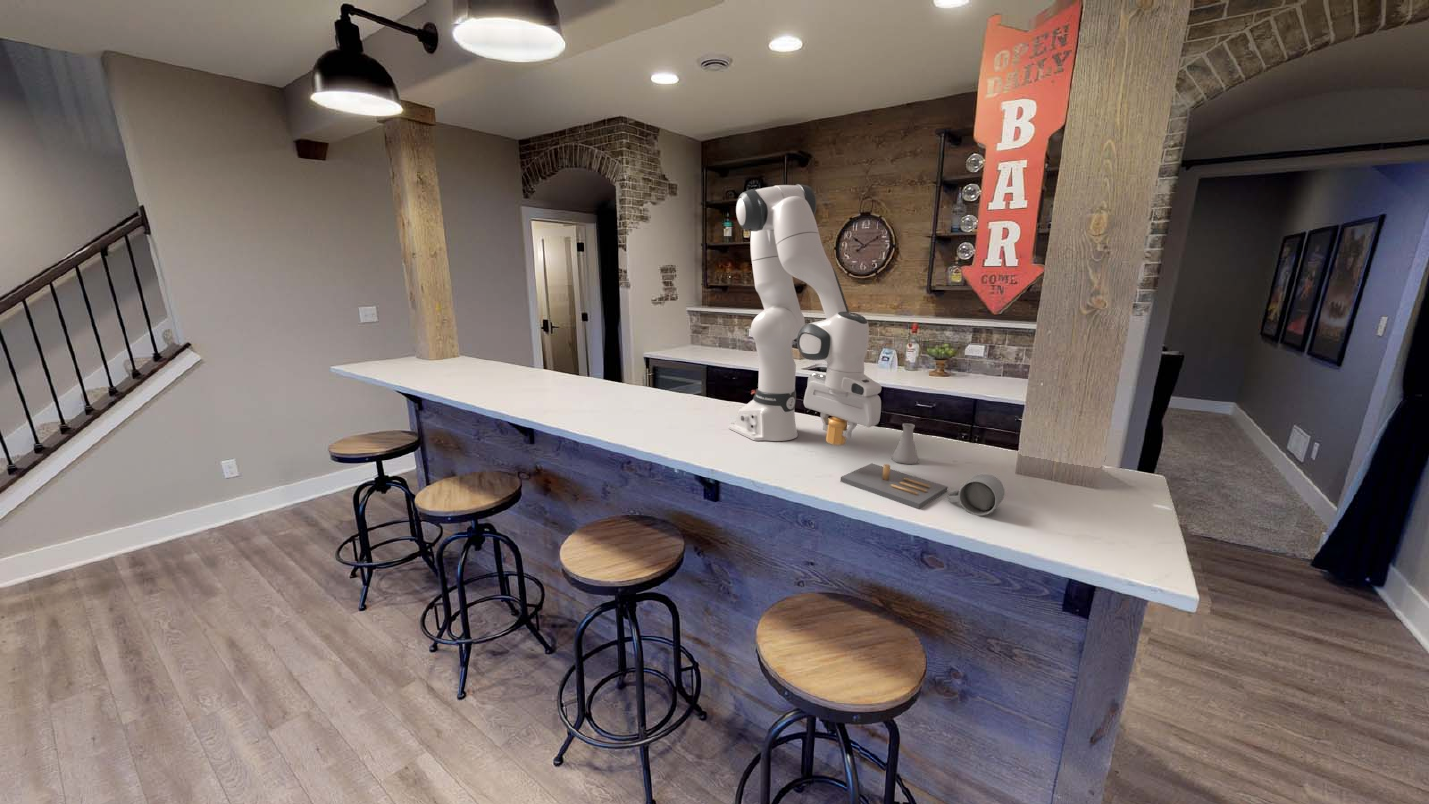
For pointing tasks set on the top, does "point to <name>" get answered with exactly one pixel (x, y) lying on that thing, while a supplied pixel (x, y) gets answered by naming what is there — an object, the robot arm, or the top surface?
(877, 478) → the plate
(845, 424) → the wire nut
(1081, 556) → the top surface
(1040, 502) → the top surface
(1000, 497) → the ceramic mug
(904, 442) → the flask
